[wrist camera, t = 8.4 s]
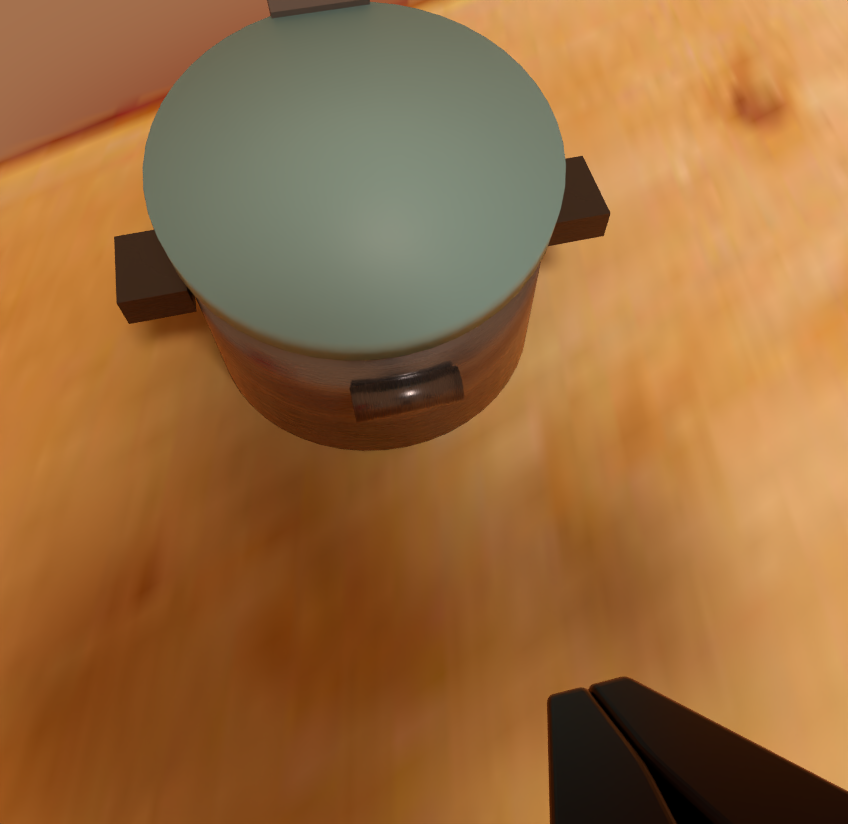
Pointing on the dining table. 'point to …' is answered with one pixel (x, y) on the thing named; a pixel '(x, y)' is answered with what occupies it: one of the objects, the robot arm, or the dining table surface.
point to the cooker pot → (362, 379)
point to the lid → (354, 179)
